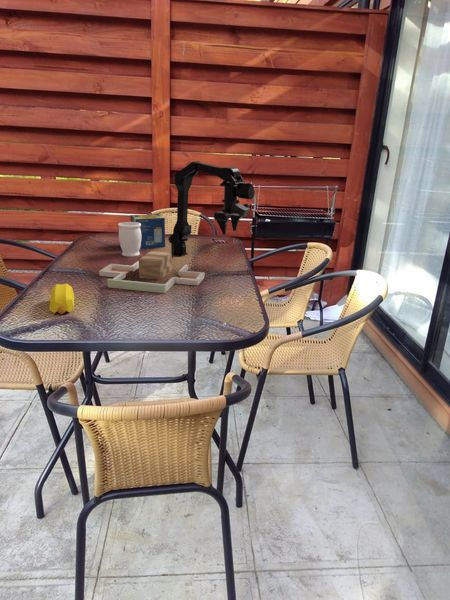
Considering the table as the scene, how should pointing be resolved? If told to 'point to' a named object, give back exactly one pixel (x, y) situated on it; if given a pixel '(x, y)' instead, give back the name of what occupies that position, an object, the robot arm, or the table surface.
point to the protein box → (151, 230)
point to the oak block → (155, 264)
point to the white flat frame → (122, 270)
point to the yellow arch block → (61, 299)
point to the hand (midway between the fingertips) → (229, 232)
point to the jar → (130, 238)
